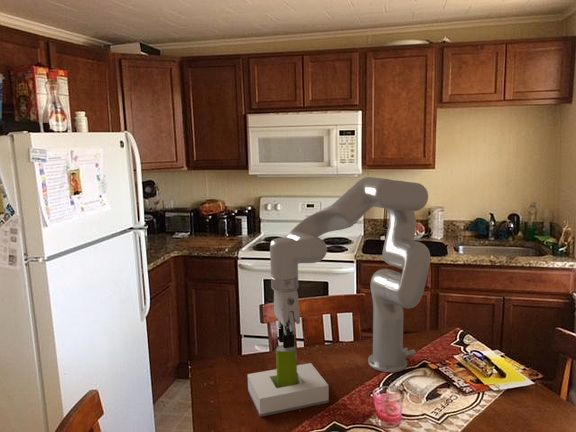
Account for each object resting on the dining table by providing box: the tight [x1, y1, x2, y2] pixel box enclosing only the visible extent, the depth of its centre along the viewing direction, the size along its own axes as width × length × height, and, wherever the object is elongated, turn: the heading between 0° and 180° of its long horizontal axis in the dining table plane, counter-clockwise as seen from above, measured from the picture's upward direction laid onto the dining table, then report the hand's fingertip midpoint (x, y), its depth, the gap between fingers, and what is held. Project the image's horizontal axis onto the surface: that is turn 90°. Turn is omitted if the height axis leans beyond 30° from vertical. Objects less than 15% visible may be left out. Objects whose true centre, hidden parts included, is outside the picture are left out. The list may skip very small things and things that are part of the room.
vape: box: [275, 326, 298, 388], centre depth 138 cm, size 4×6×20 cm, turn 81°
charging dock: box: [247, 362, 330, 417], centre depth 139 cm, size 20×14×5 cm
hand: (286, 343), depth 137 cm, fingers closed on vape, 3 cm apart
